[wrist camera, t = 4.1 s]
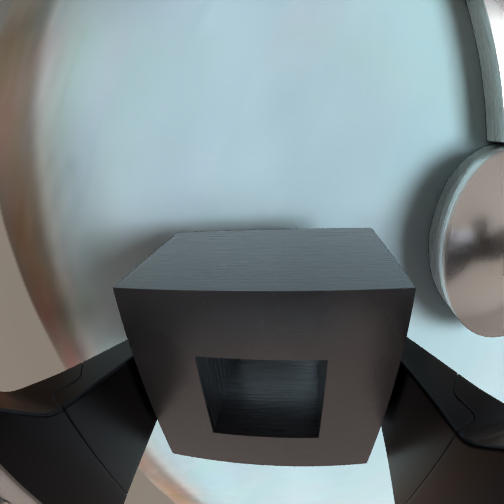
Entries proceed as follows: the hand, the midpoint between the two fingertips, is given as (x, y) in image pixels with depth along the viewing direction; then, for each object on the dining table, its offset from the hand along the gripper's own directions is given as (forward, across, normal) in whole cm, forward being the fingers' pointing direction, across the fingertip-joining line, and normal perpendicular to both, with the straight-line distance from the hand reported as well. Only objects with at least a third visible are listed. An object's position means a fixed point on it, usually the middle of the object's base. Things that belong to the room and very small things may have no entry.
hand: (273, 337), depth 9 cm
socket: (+1, 0, 0) cm, 1 cm away
